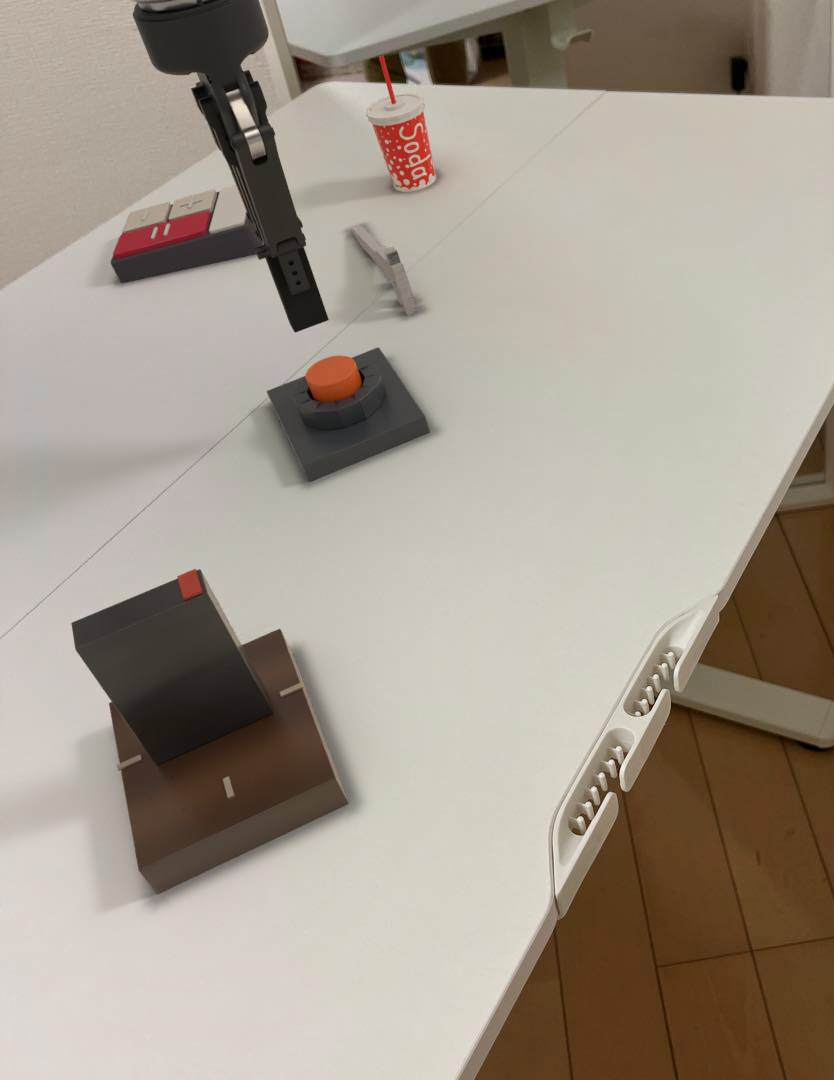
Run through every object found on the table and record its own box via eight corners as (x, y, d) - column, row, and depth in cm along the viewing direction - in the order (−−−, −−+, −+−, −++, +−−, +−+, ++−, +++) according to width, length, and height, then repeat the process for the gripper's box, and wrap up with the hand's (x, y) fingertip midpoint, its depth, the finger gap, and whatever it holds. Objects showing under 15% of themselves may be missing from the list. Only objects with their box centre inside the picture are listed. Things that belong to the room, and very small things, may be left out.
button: (306, 385, 88) (299, 367, 86) (353, 367, 88) (347, 349, 87) (320, 410, 85) (312, 391, 83) (368, 390, 85) (361, 372, 84)
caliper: (420, 317, 99) (402, 255, 95) (409, 322, 99) (390, 259, 95) (361, 232, 114) (343, 175, 110) (351, 235, 114) (333, 178, 110)
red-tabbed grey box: (156, 765, 62) (72, 646, 55) (150, 738, 64) (68, 619, 57) (273, 713, 64) (206, 590, 57) (265, 687, 65) (198, 565, 58)
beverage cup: (393, 205, 117) (354, 73, 108) (385, 183, 122) (348, 54, 113) (448, 190, 118) (415, 57, 108) (438, 168, 122) (406, 38, 113)
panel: (127, 732, 69) (105, 700, 67) (296, 657, 71) (280, 624, 69) (160, 901, 59) (135, 870, 57) (354, 809, 61) (336, 776, 59)
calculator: (124, 209, 120) (255, 173, 119) (143, 244, 123) (271, 210, 122) (105, 257, 112) (245, 219, 111) (125, 293, 115) (262, 256, 114)
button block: (275, 412, 92) (258, 372, 90) (385, 368, 94) (372, 328, 91) (311, 488, 84) (294, 447, 81) (432, 438, 86) (419, 396, 83)
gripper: (273, -7, 63) (382, 343, 79) (227, -50, 72) (333, 270, 88) (145, 33, 61) (282, 381, 77) (115, -17, 71) (243, 303, 86)
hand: (309, 321), depth 82 cm, fingers closed
